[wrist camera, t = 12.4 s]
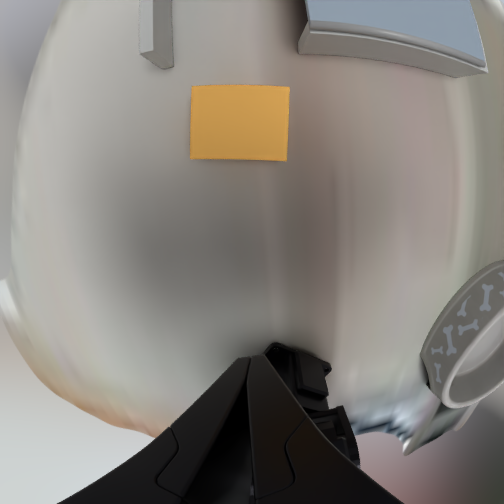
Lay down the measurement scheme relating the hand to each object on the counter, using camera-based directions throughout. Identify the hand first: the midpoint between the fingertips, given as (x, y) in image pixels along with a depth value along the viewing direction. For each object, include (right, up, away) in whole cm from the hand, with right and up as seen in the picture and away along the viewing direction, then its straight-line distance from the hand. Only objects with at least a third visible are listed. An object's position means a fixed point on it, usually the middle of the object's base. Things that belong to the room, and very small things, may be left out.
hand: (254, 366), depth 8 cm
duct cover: (+8, +19, 0) cm, 21 cm away
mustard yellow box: (-1, +11, +8) cm, 14 cm away
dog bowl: (+26, -6, +15) cm, 31 cm away
